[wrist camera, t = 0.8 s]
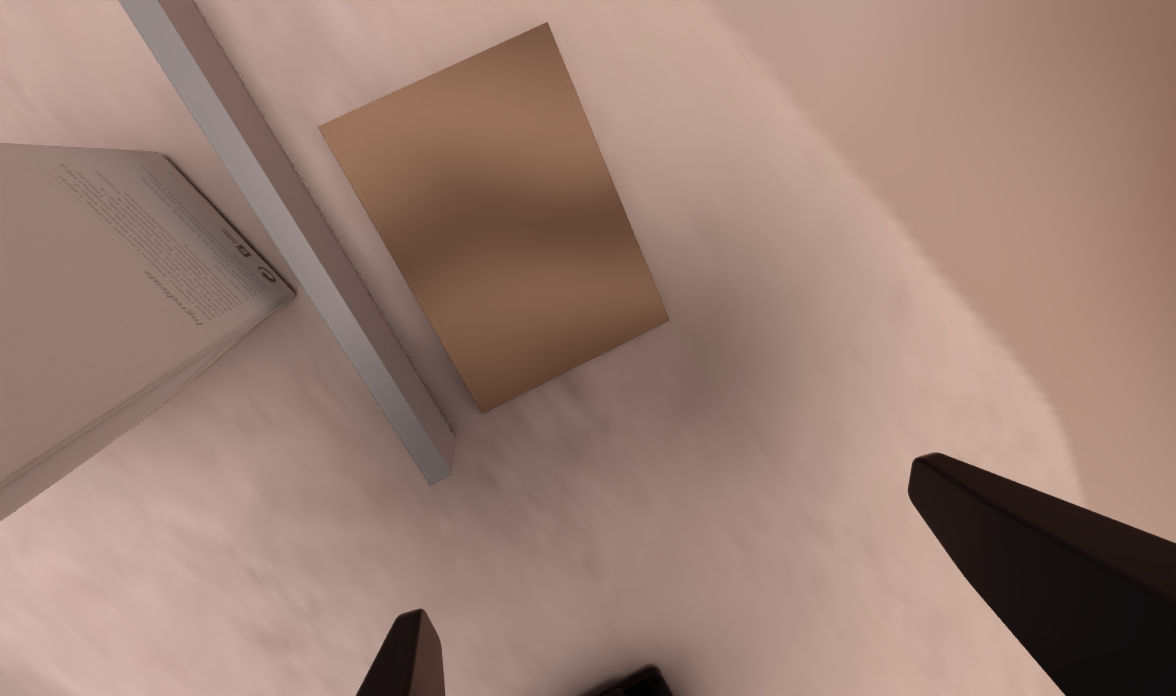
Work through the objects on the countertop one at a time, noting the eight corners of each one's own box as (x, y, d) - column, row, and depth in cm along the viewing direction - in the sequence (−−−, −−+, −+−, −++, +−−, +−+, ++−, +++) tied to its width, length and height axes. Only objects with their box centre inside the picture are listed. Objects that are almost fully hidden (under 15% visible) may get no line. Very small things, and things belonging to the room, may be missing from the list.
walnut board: (666, 318, 21) (669, 320, 21) (481, 409, 21) (481, 413, 21) (545, 25, 18) (547, 22, 18) (321, 128, 17) (317, 126, 17)
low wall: (455, 436, 21) (451, 474, 18) (436, 446, 21) (430, 485, 18) (190, -4, 16) (128, -46, 13) (165, 8, 16) (97, -33, 13)
